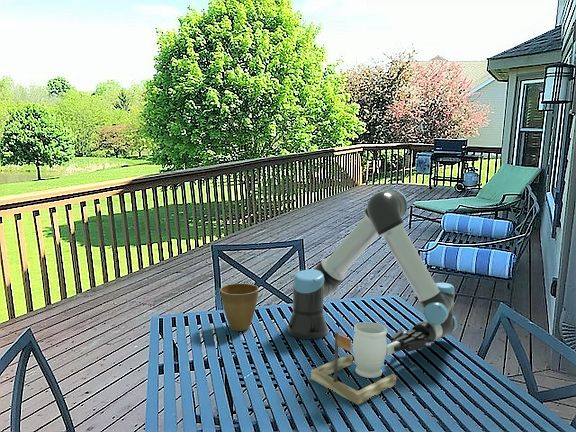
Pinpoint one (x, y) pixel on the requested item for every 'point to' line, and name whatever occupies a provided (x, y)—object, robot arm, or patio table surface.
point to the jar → (369, 348)
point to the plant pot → (239, 304)
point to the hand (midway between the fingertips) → (385, 350)
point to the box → (323, 371)
